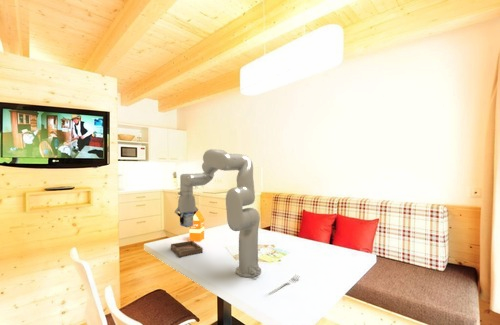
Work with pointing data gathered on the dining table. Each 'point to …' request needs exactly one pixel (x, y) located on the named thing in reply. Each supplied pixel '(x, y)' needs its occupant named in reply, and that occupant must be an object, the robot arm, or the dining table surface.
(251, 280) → the dining table surface
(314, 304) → the dining table surface
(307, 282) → the dining table surface
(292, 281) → the fork
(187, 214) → the medicine box
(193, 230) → the orange juice
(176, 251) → the walnut tray
